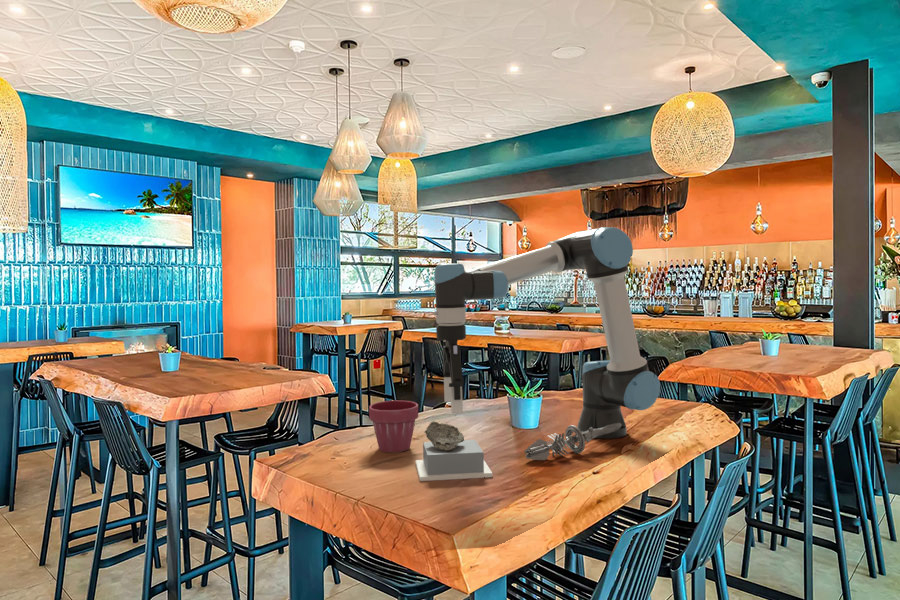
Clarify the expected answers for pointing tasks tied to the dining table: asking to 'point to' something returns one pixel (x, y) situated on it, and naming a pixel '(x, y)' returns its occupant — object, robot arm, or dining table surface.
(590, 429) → the spaceship
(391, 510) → the dining table surface
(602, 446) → the dining table surface
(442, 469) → the plinth
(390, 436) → the plant pot
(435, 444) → the rock sample
